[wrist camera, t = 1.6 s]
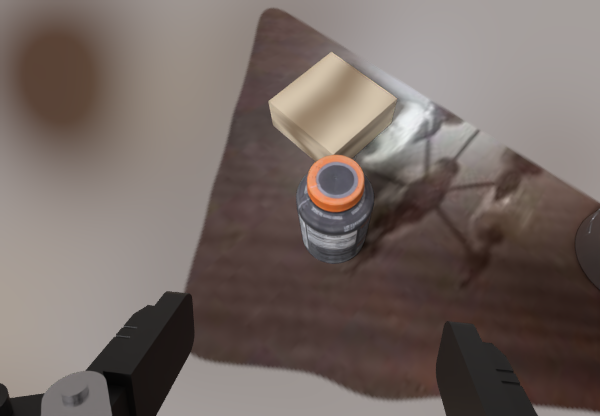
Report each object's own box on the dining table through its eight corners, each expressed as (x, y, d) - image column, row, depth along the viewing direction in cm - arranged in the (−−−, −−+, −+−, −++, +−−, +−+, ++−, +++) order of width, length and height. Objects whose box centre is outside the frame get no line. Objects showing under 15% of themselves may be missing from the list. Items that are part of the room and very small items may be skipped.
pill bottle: (332, 195, 39) (334, 126, 28) (377, 234, 37) (398, 175, 27) (289, 235, 37) (275, 178, 27) (334, 278, 35) (338, 234, 25)
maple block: (391, 123, 42) (397, 98, 38) (332, 175, 40) (333, 154, 36) (330, 78, 45) (331, 51, 41) (273, 125, 43) (268, 101, 39)
